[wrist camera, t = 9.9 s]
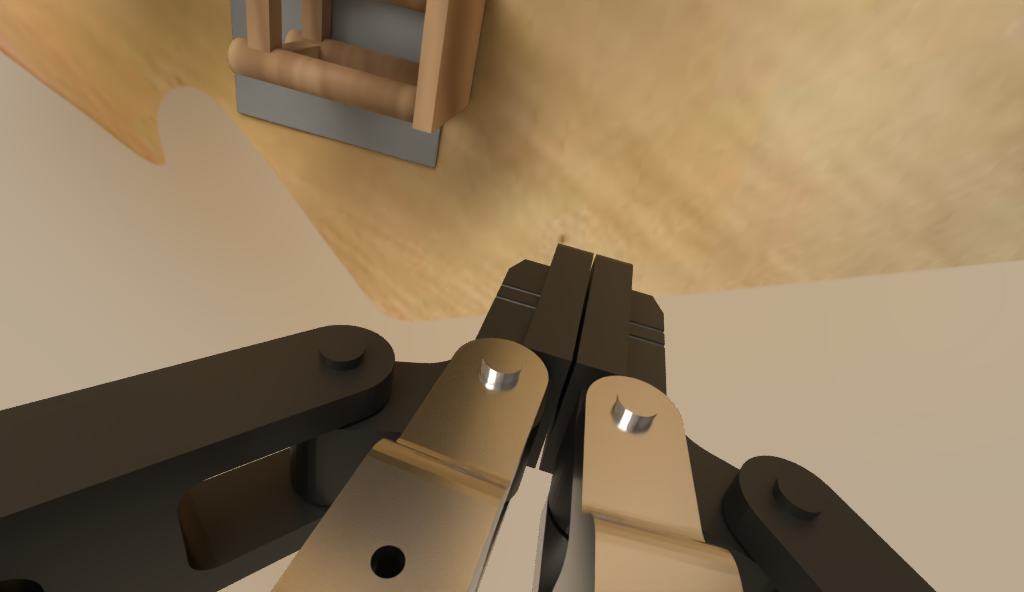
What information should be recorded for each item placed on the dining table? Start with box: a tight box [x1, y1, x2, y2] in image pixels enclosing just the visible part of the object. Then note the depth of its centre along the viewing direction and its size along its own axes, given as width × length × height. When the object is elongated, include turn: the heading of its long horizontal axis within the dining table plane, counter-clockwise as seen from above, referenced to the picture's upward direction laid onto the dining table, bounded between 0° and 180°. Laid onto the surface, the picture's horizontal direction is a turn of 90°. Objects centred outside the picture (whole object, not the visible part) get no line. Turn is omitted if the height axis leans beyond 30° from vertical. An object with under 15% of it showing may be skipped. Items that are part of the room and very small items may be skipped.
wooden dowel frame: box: [228, 0, 486, 133], centre depth 29 cm, size 7×7×11 cm
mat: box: [231, 0, 441, 168], centre depth 32 cm, size 14×16×1 cm
